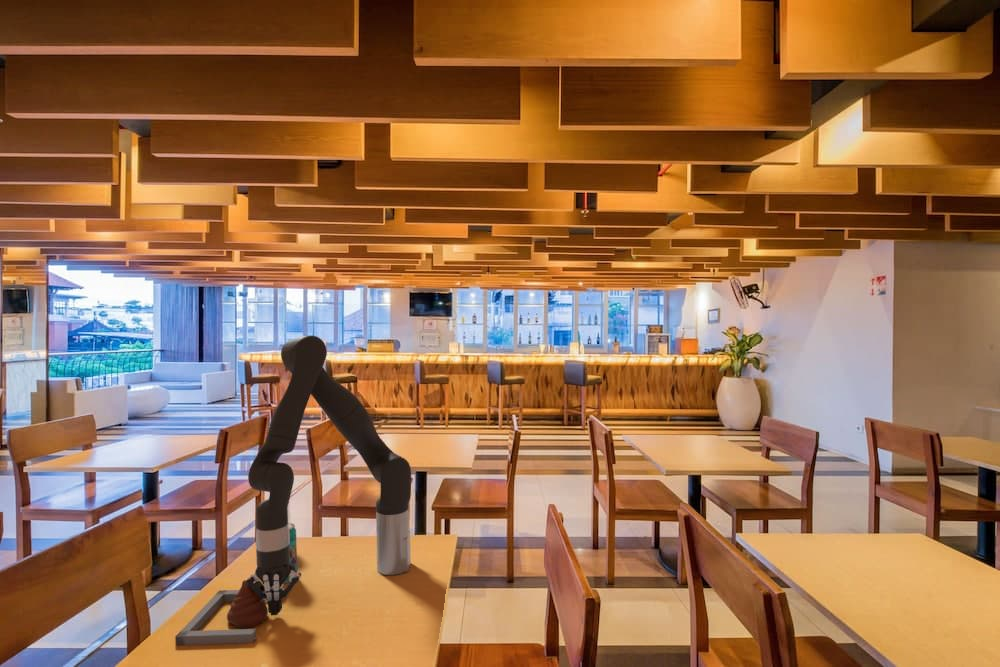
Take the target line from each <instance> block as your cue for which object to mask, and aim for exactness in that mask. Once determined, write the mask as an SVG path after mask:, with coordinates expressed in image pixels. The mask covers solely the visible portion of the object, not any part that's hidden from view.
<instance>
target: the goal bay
mask: <svg viewBox="0 0 1000 667" xmlns="http://www.w3.org/2000/svg"><path fill="white" fill-rule="evenodd" d="M285 589H286V588H283V590H285ZM239 590H240V589H234V590H233V589H231V590H230V589H228V590H218V592H216V593H215V594H214V595H213V596H212V598H210V599H209V601H208V602H207V603H206V604H205V605H204V606H203V607H202V608H201V609H200V610H199V611H198V612H197V613H196V614H195V615H194V616H193V617H192V618H191V619H190V621H188V623H187V624H185V626H184V627H182V629H181V630H180V631H179V632H178V633H177V634H176V635H175V639H174V641H175V642H174V644H175V646H193V645H194V646H195V645H198V646H201V645H226V644H251V643H252V644H253V643H254V641H255V640H256V638H257V629H256V628H240V629H237V628H236V629H213V630H212V629H210V630H209V629H208V630H207V629H206V630H200V629H201V628H202V627H203V626H204V624H205V623H206V622H207V621H208V620H209V619H210V618H211V616H213V614H214V613H215V612H217V610H218V609H219V608H220V606H222V604H223V603H230V602H231V603H233V602H234V598H235V595H236V594H237V593H238V592H239ZM284 599H285V598H282V601H283V600H284Z"/></svg>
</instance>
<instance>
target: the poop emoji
mask: <svg viewBox="0 0 1000 667" xmlns="http://www.w3.org/2000/svg"><path fill="white" fill-rule="evenodd" d="M246 581H247V580H246V579H244V580H243V581H242V583H241V586H240V589H238V590H239V592H238V593H237V594H236V595H235V598H234V602H231V605H230V609H229V610H228V612H227V615H226V619H227V622H228V623H229V624H231V625H234V626H235V627H237V628H240V629H251V628H253V627H256V626H258V625H260V624H261V623H263V622H264V621H266V619H267V617H268V613H269V612H268V605H266V604H267V603H268V600H267V599H265V598H263V599H260V598H259V596H258V595H257V594H256V593H255V592H254V591H253V590H252V588H251V587H250V586H249V585H248V584H247V582H246Z"/></svg>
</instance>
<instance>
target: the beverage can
mask: <svg viewBox="0 0 1000 667" xmlns="http://www.w3.org/2000/svg"><path fill="white" fill-rule="evenodd" d="M288 527H289V533H290V564H291V566H292V570H293V571H294V572H296V573H298V558H297V557H298V556H297V555H298V554H297V548H298V547H297V529H296V525H295V523H291V522H290V523H288ZM289 578H290V576H288V577H287V579H286V580H285V582H284V584H290V581H289Z"/></svg>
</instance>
